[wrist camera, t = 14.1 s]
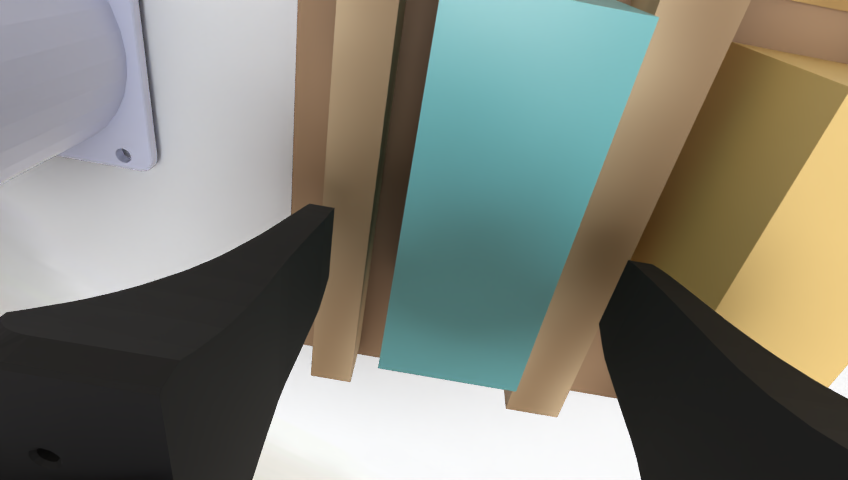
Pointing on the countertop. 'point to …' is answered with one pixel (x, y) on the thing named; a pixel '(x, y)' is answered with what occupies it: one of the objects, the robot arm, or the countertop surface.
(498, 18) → the teal plug block
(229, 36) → the countertop surface
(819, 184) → the ochre plug block
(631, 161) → the comb board
